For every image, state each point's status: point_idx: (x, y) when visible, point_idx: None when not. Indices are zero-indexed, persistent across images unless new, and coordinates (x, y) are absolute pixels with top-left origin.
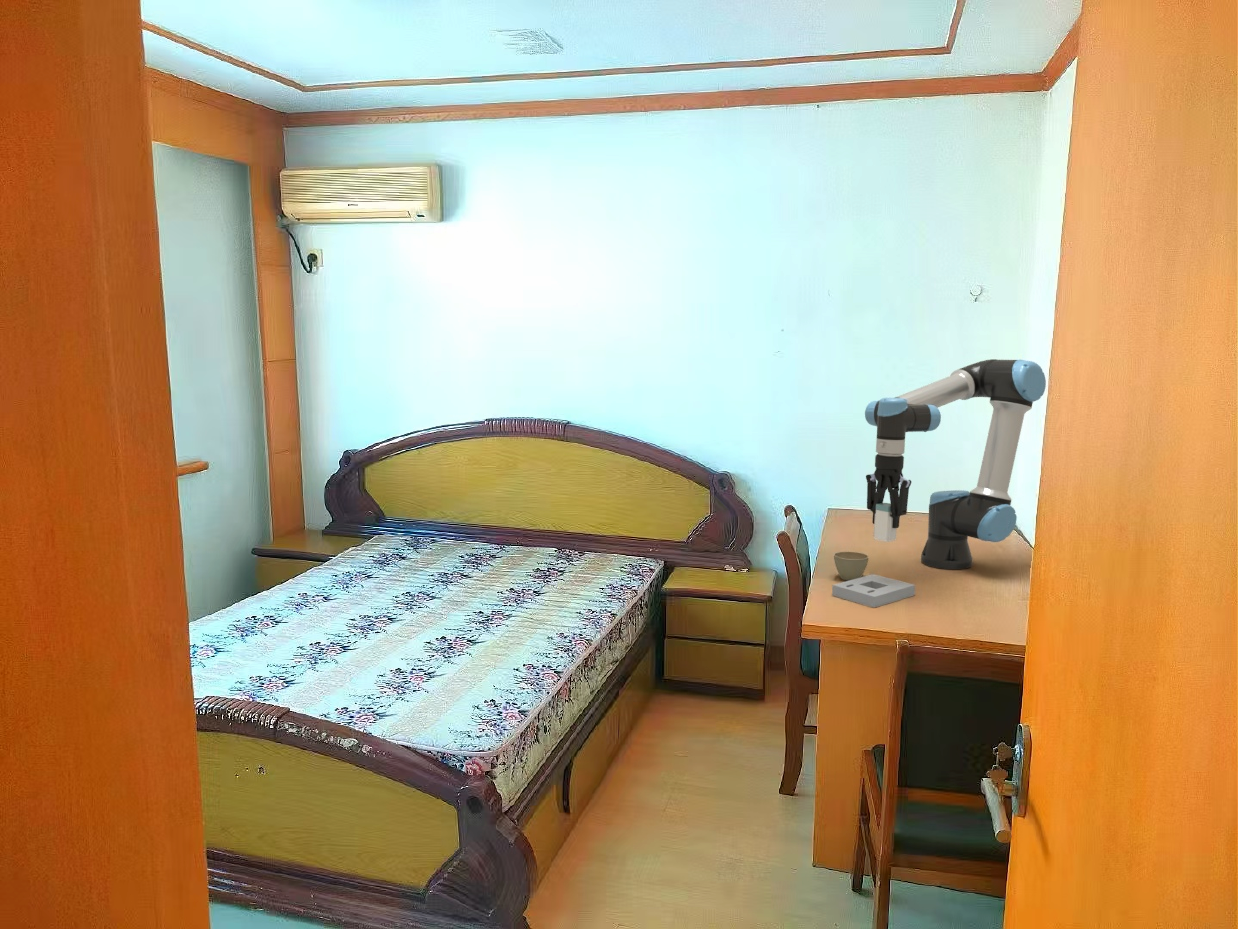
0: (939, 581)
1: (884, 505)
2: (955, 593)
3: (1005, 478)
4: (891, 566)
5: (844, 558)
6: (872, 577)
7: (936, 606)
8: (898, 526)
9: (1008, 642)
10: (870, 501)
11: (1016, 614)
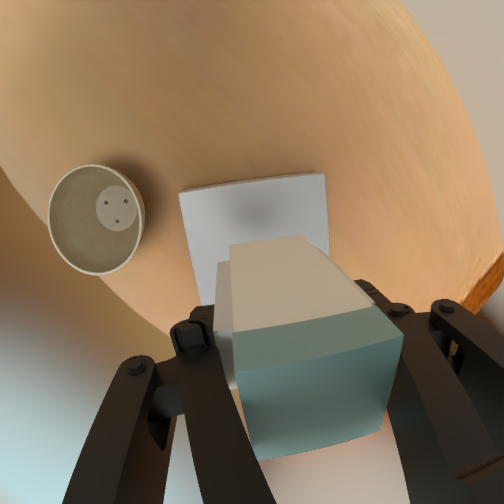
0: (258, 24)
1: (339, 440)
2: (351, 78)
3: None
4: (92, 38)
5: (62, 205)
6: (205, 221)
7: (389, 199)
8: (368, 286)
9: (498, 252)
10: (169, 459)
11: (471, 125)
